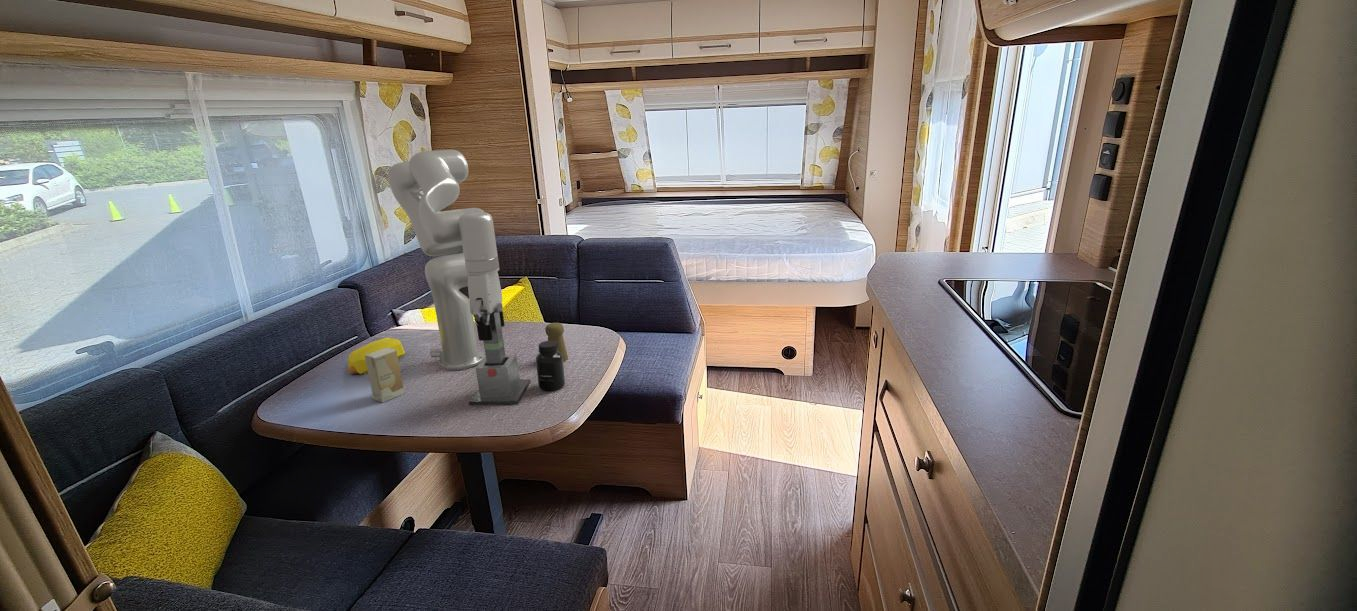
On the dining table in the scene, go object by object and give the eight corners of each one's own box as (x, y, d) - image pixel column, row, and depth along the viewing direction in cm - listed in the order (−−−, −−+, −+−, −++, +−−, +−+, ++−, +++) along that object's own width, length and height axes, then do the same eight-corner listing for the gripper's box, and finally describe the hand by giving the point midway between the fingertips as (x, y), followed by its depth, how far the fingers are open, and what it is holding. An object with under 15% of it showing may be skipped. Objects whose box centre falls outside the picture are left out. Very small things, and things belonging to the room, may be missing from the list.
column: (484, 372, 142) (474, 308, 137) (489, 365, 146) (479, 303, 140) (506, 371, 142) (497, 308, 137) (510, 365, 145) (502, 303, 140)
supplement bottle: (542, 394, 145) (537, 351, 141) (536, 384, 150) (530, 342, 147) (569, 388, 148) (564, 345, 144) (561, 378, 153) (556, 337, 150)
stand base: (469, 405, 140) (463, 372, 138) (485, 383, 152) (481, 352, 149) (517, 404, 140) (513, 370, 137) (530, 382, 152) (526, 351, 149)
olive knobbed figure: (563, 364, 162) (559, 328, 159) (543, 363, 163) (539, 327, 160) (571, 355, 168) (567, 320, 164) (552, 354, 169) (548, 320, 166)
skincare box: (382, 403, 143) (372, 358, 139) (372, 399, 145) (362, 355, 141) (406, 393, 148) (397, 349, 144) (396, 389, 150) (387, 346, 147)
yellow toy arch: (341, 375, 161) (360, 379, 158) (336, 353, 159) (355, 357, 156) (394, 351, 176) (412, 355, 173) (390, 331, 174) (408, 334, 171)
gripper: (479, 257, 144) (488, 321, 149) (452, 275, 127) (464, 347, 133) (508, 256, 143) (517, 320, 149) (485, 274, 127) (496, 346, 132)
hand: (492, 332), depth 141 cm, fingers open, 8 cm apart
